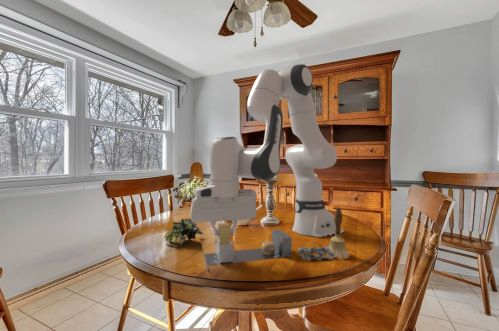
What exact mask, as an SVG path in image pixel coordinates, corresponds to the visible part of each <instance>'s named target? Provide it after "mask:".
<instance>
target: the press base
mask: <svg viewBox="0 0 499 331" xmlns="http://www.w3.org/2000/svg"><path fill="white" fill-rule="evenodd" d="M292 239H293V238H292V236H290V235H289V234H288V233H286V232H285V231H284V230H282V229H272V230H271V242H273V243H274V244H275V253H274V254H273V255H264V254H262V247H261V248H252V249H242V250H233V262H224V263H219V261H218V258H217V256H216V253H215V252H211V253H204V256H203V257H204V263H205V265H206V269H207V272H210V269H209V267H210V266H211V267H212V266H220V265H229V264H236V263H237V264H238V263H244V262H245V263H246V262H252V261H263V260H272V259H273V260H274V259H279V258H281V259H283V258H290V257H291V258H292V243H293V242H292Z"/></svg>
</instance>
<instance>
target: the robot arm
mask: <svg viewBox="0 0 499 331" xmlns="http://www.w3.org/2000/svg"><path fill="white" fill-rule="evenodd" d="M313 82H314V80H313V74H312V71H311V69H310V68H309V67H308V65H306V64H302V63H299V64H295V65H293V66H289V67H287V68H286V67H285V68H283V69H280V70H279V71H276V70H274V69H272V68H271V69H264V70H262V71H260V72H259V74H258V75H257V77H256V79H255V81H254V82H253V84H252V87H251V90H250V93H249V95H248V98H247V100H246V101H247V102H246V108H247V112H248V114H249V115H250V116H251V117H252V118H253V119H254V120H255V121H258V122H259V123H262V124H265V131H264V138H263V144H261V146H260V147H257V148H246V147H244V146H242V145H241V144H240V143H239V141H238V138H237V136H226V137H224V136H223V137H218V138H217V137H216V138H215V139H213V141H212V142H211V146H210V152H209V168H210V172H211V173H210V176H209V183H208V184H206V185H205V184H204V185H202V186H199V187H196V188H195V190H194V195H195V196H194V197H193V199H192V200H191V204H190V210H189V211H190V212H189V214H190V215H189V218H190V219H191V221H192V222H194V223H195V224H196V223H205V222H207V223H208V222H209V223H210V225H211V227H212V229H213V235H214V236H215V237H218V236H219V235H220V233H219V232H220V230H219V229H218V228H216V226H215V225H216V224H217V222H224V221H231V222H232V224H231V225H230V236H231V235H235V229H236V227H237V225H238V224H239V222H238V221H240V220H243V221H244V220H254V219H256V217H257V215H258V212H257V204H256V202H257V199H258V196H257V195H258V194H257V191H255V190H253V188H252V189H251V188H248V189H244V188H243V189H241V188H240V186H239V185H240V178H244V179H256V180H259V181H266V182H269V181H271V180H273V179H274V178H276V176H277V174H278V173H279V172H280V169H281V146H282V145H281V144H282V135H283V134H282V133H283V124H284V115H283V111H282V109H281V107H280V106H279V104H280V101H282V100H287V108H288V113H289V114H288V115H289V121H290V126H291V131H292V134H293V135H295V136H296V137H297V138H298V139H299V140H300V142H301V143H302V144H300V143H299V144H295V145H293V146H290V147H288V149H286V152H285V158H284V159H285V160H286V163H287V164H288V166H289V167H290V168H291V170H292V172H293V174H294V178H295V183H296V184H295V186H296V192H295V193H296V196H295V197H296V198H295V202H294V206H295V209H294V210H295V214H294V215H295V217H294V222H293V226H292V230H291V231H292V232H296V233H298V234H299V235H304V236H310V237H311V236H312V237H316V238H323V236H324V237H328V236H327V235H330V236H333V235H332V234H335V229H336V226H335V222H334V214H333V213H332V212H331V211H329V210H328V209H327V208H326V207H330V205H331V202H330V201H327V200H325V201H324V200H323V182H322V180H320V178H319V177H317V175H316V173H315V169H319V170H322V169H328V168H332V167H333V166H334V165H335V164H336V163H337V160H338V152H337V150H336V147H335V146H334V145H333V144H332V143H329V141H328V140H327V139H326V138H325V137H324V136H323V134H322V131H321V130H320V127H319V123H318V119H317V112H316V107H315V103H314V102H315V101H314V98H313V95H312V93H311V88H312V86H313ZM194 223H193V224H194ZM340 232H344V233H345V230H344V228H342V227H340Z"/></svg>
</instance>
